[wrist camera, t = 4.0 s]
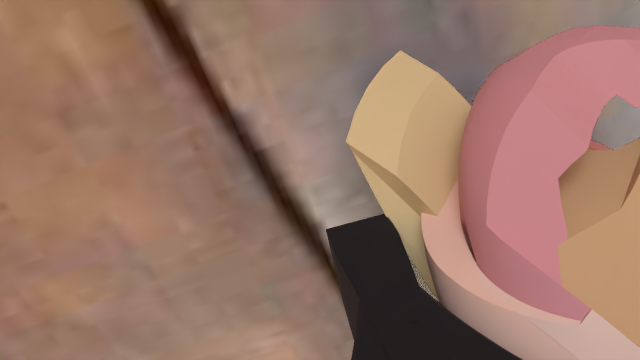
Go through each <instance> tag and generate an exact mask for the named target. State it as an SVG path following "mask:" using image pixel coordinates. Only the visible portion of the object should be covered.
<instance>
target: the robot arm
mask: <svg viewBox="0 0 640 360" xmlns="http://www.w3.org/2000/svg"><path fill="white" fill-rule="evenodd" d="M326 232H327V236H328V240H329V244H330V249H331V253H332V257H333V261H334V266H335V270H336V274H337V278H338V282H339V287H340V291H341V295H342V299H343V303H344V307H345V310H346V314H347V317H348V321H349V324H350V328H351V331H352V335H353V338H354V347H353V353H352V358H351V360H523V359H521V358H519V357H518V356H516V355H514V354H512V353H511V352H509V351H507V350H506V349H504V348H503V347H501V346H499V345H498V344H496V343H495V342H493V341H492V340H490V339H488V338H487V337H485V336H484V335H482V334H481V333H479V332H478V331H476V330H475V329H474V328H472V327H471V326H469V325H468V324H466V323H465V322H464V321H462V320H461V319H459V318H458V317H457V316H455V315H454V314H453V313H452V312H450V311H449V310H448V309H446V308H445V307H444V306H443V305H441V304H440V303H439V302H438V301H436V300H435V299H434V298H433V297H432V296H430V295H429V294H428V293H427V292H426V291H424V290H423V289H422V288H421V287H420V286H419V285H418V282H417V279H416V277H415V274H414V271H413V269H412V266H411V263H410V261H409V258H408V255H407V253H406V250H405V247H404V245H403V242H402V240H401V237H400V235H399V232H398V231H397V229H396V228H395V226H394V224H393V223H392V222H391V220H390V219H389V217H386V216H385V214H382V215H378V216H374V217H371V218H367V219H363V220H359V221H356V222H352V223H348V224H344V225H341V226H337V227H333V228H329V229H326Z"/></svg>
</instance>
